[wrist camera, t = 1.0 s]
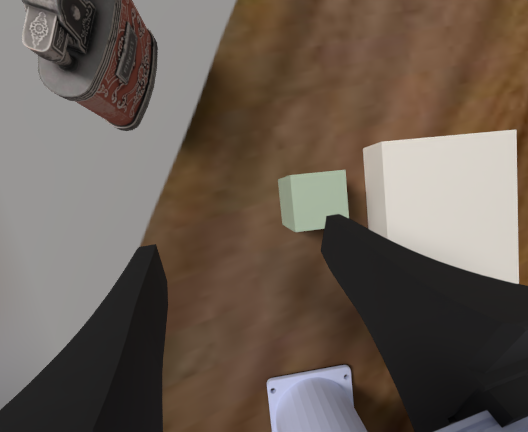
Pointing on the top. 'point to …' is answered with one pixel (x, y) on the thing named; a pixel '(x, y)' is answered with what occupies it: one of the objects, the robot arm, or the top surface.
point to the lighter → (94, 55)
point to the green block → (312, 199)
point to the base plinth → (448, 199)
